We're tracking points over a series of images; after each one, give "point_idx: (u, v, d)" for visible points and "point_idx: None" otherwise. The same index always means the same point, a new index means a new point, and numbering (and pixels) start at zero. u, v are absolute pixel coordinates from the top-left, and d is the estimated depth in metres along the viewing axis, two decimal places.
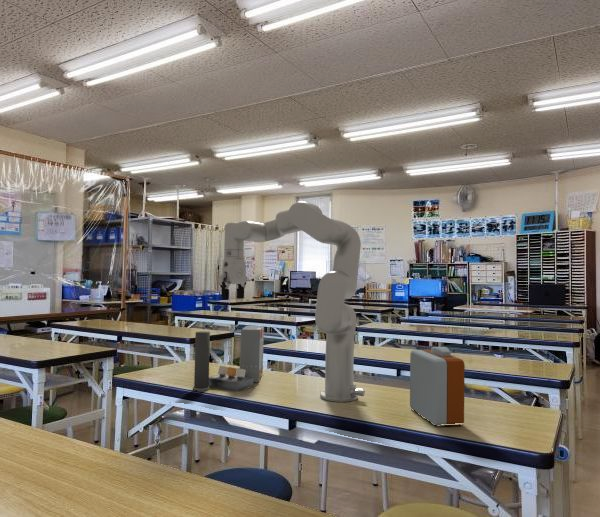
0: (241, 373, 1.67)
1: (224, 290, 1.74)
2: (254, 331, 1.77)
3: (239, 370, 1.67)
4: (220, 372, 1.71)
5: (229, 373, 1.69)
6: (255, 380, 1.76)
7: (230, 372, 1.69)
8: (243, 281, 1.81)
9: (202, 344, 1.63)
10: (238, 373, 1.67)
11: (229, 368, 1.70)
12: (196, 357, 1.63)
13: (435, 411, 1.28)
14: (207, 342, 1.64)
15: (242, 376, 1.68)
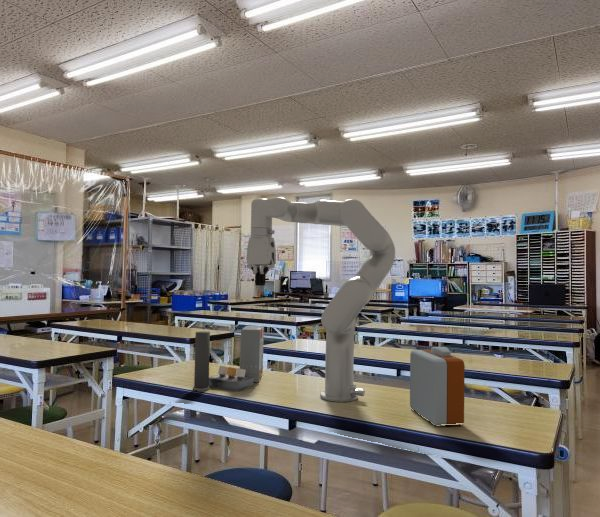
0: (241, 373, 1.67)
1: (264, 275, 1.65)
2: (254, 331, 1.77)
3: (239, 370, 1.67)
4: (220, 372, 1.71)
5: (229, 373, 1.69)
6: (255, 380, 1.76)
7: (230, 372, 1.69)
8: None
9: (202, 344, 1.63)
10: (238, 373, 1.67)
11: (229, 368, 1.70)
12: (196, 357, 1.63)
13: (435, 411, 1.28)
14: (207, 342, 1.64)
15: (242, 376, 1.68)
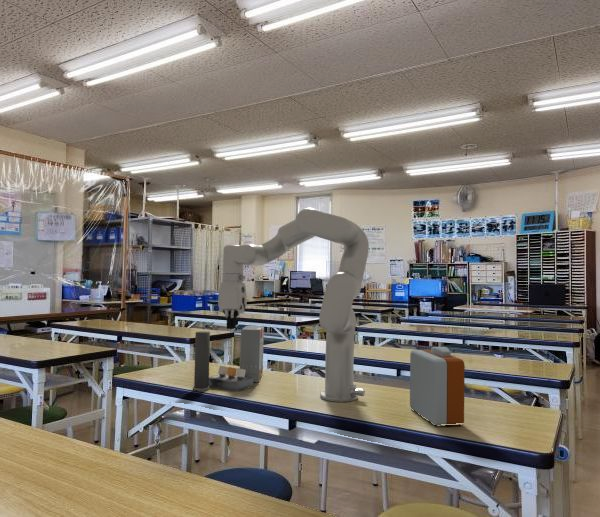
0: (241, 373, 1.67)
1: (235, 319, 1.70)
2: (254, 331, 1.77)
3: (239, 370, 1.67)
4: (220, 372, 1.71)
5: (229, 373, 1.69)
6: (255, 380, 1.76)
7: (230, 372, 1.69)
8: None
9: (202, 344, 1.63)
10: (238, 373, 1.67)
11: (229, 368, 1.70)
12: (196, 357, 1.63)
13: (435, 411, 1.28)
14: (207, 342, 1.64)
15: (242, 376, 1.68)
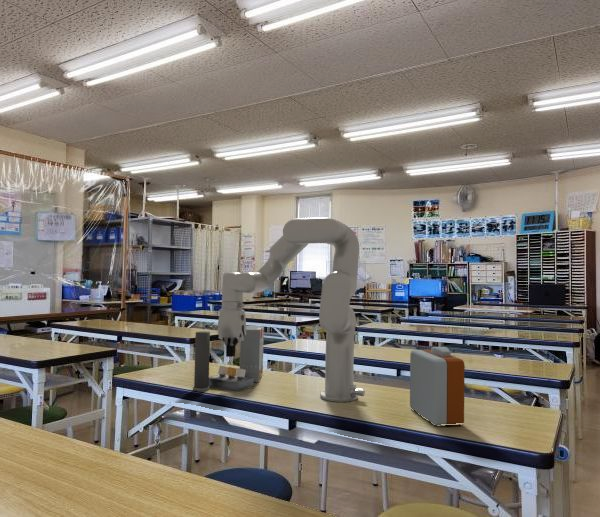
0: (241, 373, 1.67)
1: (234, 347, 1.70)
2: (254, 331, 1.77)
3: (239, 370, 1.67)
4: (220, 372, 1.71)
5: (229, 373, 1.69)
6: (255, 380, 1.76)
7: (230, 372, 1.69)
8: None
9: (202, 344, 1.63)
10: (238, 373, 1.67)
11: (229, 368, 1.70)
12: (196, 357, 1.63)
13: (435, 411, 1.28)
14: (207, 342, 1.64)
15: (242, 376, 1.68)
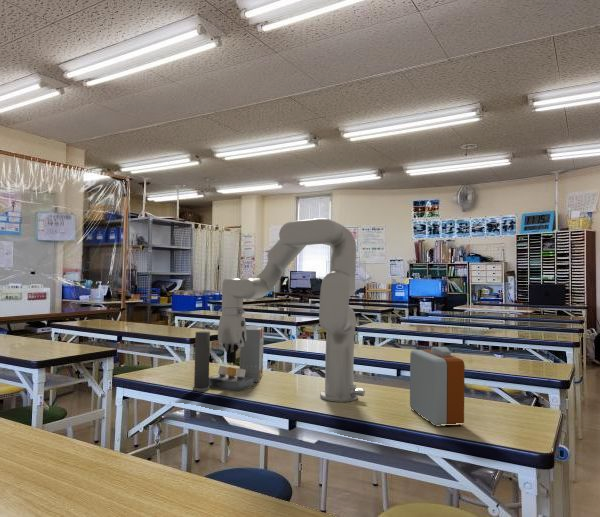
0: (241, 373, 1.67)
1: (235, 353, 1.70)
2: (254, 331, 1.77)
3: (239, 370, 1.67)
4: (220, 372, 1.71)
5: (229, 373, 1.69)
6: (255, 380, 1.76)
7: (230, 372, 1.69)
8: None
9: (202, 344, 1.63)
10: (238, 373, 1.67)
11: (229, 368, 1.70)
12: (196, 357, 1.63)
13: (435, 411, 1.28)
14: (207, 342, 1.64)
15: (242, 376, 1.68)
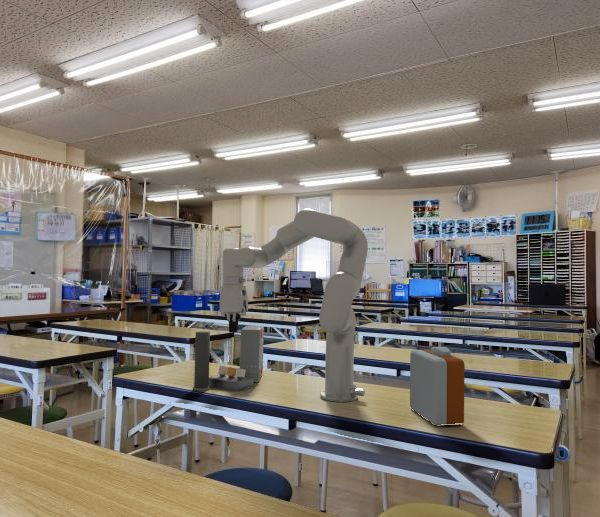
0: (241, 373, 1.67)
1: (237, 322, 1.70)
2: (254, 331, 1.77)
3: (239, 370, 1.67)
4: (220, 372, 1.71)
5: (229, 373, 1.69)
6: (255, 380, 1.76)
7: (230, 372, 1.69)
8: None
9: (202, 344, 1.63)
10: (238, 373, 1.67)
11: (229, 368, 1.70)
12: (196, 357, 1.63)
13: (435, 411, 1.28)
14: (207, 342, 1.64)
15: (242, 376, 1.68)
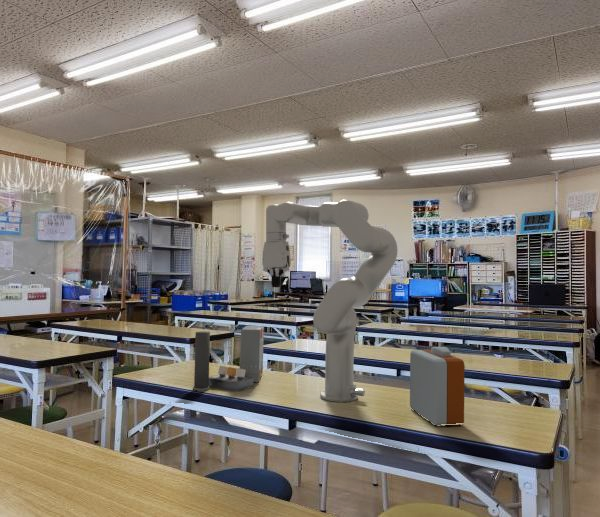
0: (241, 373, 1.67)
1: (279, 278, 1.73)
2: (254, 331, 1.77)
3: (239, 370, 1.67)
4: (220, 372, 1.71)
5: (229, 373, 1.69)
6: (255, 380, 1.76)
7: (230, 372, 1.69)
8: None
9: (202, 344, 1.63)
10: (238, 373, 1.67)
11: (229, 368, 1.70)
12: (196, 357, 1.63)
13: (435, 411, 1.28)
14: (207, 342, 1.64)
15: (242, 376, 1.68)
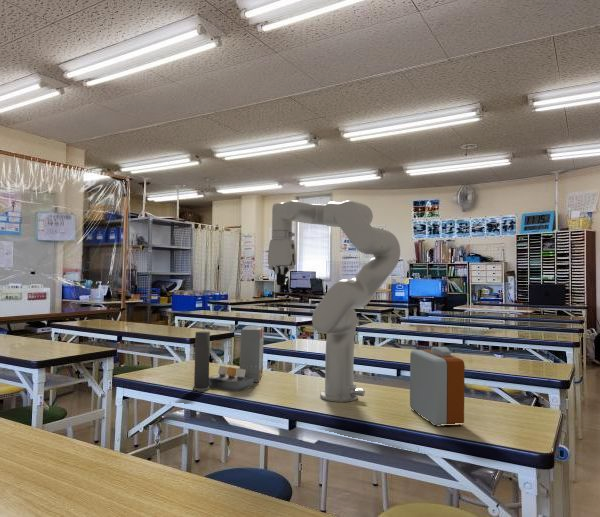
0: (241, 373, 1.67)
1: (284, 275, 1.74)
2: (254, 331, 1.77)
3: (239, 370, 1.67)
4: (220, 372, 1.71)
5: (229, 373, 1.69)
6: (255, 380, 1.76)
7: (230, 372, 1.69)
8: None
9: (202, 344, 1.63)
10: (238, 373, 1.67)
11: (229, 368, 1.70)
12: (196, 357, 1.63)
13: (435, 411, 1.28)
14: (207, 342, 1.64)
15: (242, 376, 1.68)
